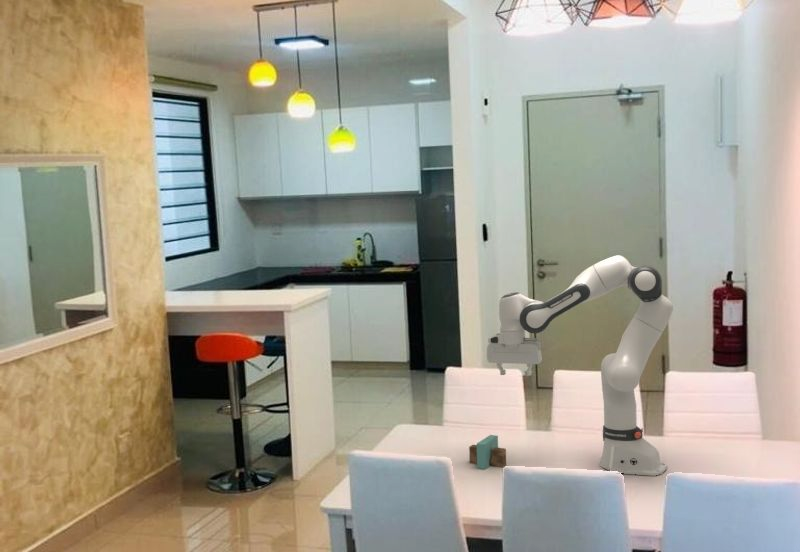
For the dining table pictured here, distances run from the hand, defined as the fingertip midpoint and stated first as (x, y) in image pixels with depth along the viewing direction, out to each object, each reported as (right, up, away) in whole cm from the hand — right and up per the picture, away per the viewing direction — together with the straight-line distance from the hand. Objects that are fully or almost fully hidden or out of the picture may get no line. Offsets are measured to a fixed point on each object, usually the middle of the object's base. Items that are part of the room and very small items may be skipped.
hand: (515, 375), depth 310 cm
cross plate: (-10, -32, -2) cm, 33 cm away
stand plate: (-10, -32, -2) cm, 33 cm away
